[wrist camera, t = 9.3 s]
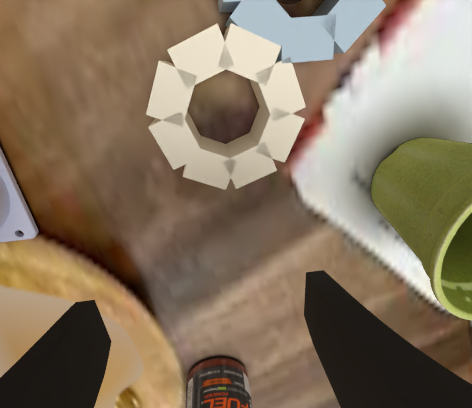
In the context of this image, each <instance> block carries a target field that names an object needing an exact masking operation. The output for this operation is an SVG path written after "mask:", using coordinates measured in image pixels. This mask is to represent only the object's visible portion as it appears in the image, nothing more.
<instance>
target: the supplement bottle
mask: <svg viewBox="0 0 472 408" xmlns="http://www.w3.org/2000/svg"><path fill="white" fill-rule="evenodd" d="M186 408H252V403H251V396H250V388H249V381H248V376H247V372H246V370H245V368H244V367H243V366H242V365H241V364H240V363H238V362H237V361H235V360H232V359H228V358H213V359H209V360H206V361H203V362H201V363H199V364H198V365H196V366H195V367H194V368H193V369H192V370H191V371H190V373H189V375H188V378H187V387H186Z"/></svg>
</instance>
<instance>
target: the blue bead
mask: <svg viewBox="0 0 472 408" xmlns="http://www.w3.org/2000/svg"><path fill="white" fill-rule="evenodd" d="M218 5H219V13H224V12H233V13H232V15H231V16H230V17H229V19H228V20H227V22H226V23H225V26H226V27H227V28H228V26H229V25H230V24H231V23H232V24H234V25H236V26H238V27H241V28H243V29H245V30H247V31H249V32H251V33H254V34H256V35H258V36H260V37H262V38H264V39H267V40H269V41H271V42H273V43H275V44H277V45H280V46H282V47H281V49H280V52H279V54H278V57H277V59H276V61H282V60H284V61H285V59H286V58H287V59H286V60H288V58H289V60H288V61H290V62H291V63H295V62H307V61H319V60H331V59H333V54H336V53H345V52H346V51H347V50H348V48H349V47H350V46H351V45H352V44H353V43H354V42H355V41H356V39H357V38H358V37H359V36H360V35H361V34H362V33H363V31H364V30H365V29H366V28H367V27H368V26H369V25H370V24H371V22H372V21H373V20H374V19H375V18H376V17H377V16H378V14H379V13H380V12H381V11H382V10H383V9H384V8H385V7H386V5H385V3H384V2H383V0H324V1H323V2H322V3H321V4H320V6H319V7H318V8H317V9H316V11H315V12H314V13H313V14H312V16H310V17H297V18H291V17H290V16H289V15H288V14H287V13H286V11H285V10H284V9H283V8H282V7H281V6H280V5H279V3H278V2H277V1H276V0H218ZM247 33H248V32H247ZM251 33H250V34H251ZM245 34H246V33H245ZM252 38H253V37H252ZM290 58H291V60H290ZM288 61H286V62H285V63H287V62H288ZM282 62H283V61H282ZM283 63H284V62H283ZM283 63H282V64H283ZM288 63H289V62H288Z"/></svg>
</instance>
